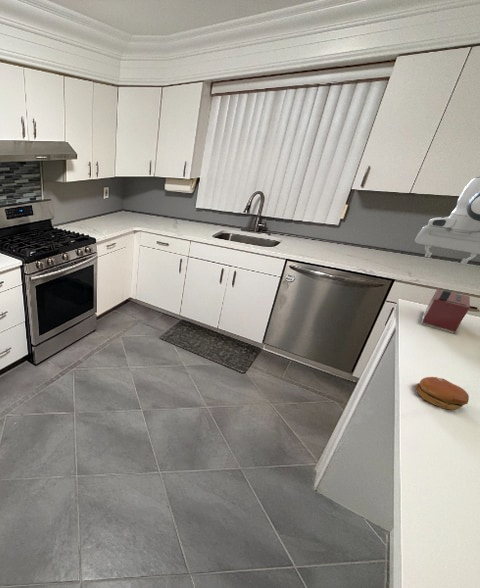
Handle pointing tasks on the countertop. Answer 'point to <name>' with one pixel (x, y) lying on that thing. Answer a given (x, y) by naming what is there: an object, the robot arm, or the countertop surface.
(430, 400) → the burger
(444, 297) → the browning slider
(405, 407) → the countertop surface
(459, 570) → the countertop surface
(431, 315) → the toaster
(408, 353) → the countertop surface
